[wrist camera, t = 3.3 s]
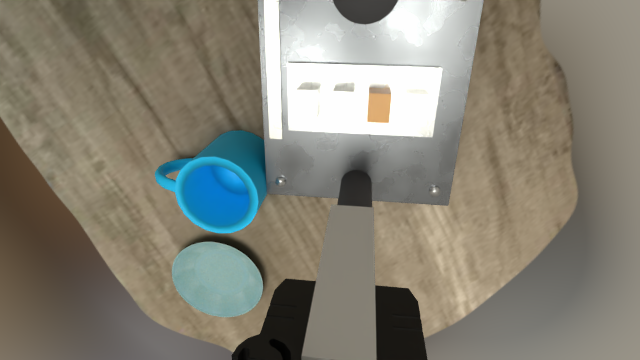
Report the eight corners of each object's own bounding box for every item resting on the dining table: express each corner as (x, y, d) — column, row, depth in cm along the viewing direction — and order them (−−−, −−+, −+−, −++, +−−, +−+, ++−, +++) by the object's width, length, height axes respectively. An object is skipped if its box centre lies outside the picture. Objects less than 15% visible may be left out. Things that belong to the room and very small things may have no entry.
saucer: (278, 252, 48) (274, 263, 46) (253, 317, 53) (248, 329, 51) (189, 219, 48) (181, 228, 46) (172, 287, 53) (164, 299, 51)
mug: (278, 133, 42) (258, 161, 34) (276, 200, 45) (258, 238, 38) (172, 122, 43) (130, 147, 35) (178, 188, 46) (141, 223, 39)
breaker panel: (270, -25, 36) (245, -33, 28) (472, -23, 34) (500, -31, 26) (277, 174, 44) (259, 207, 37) (439, 184, 42) (454, 221, 35)
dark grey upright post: (341, 169, 37) (323, 273, 23) (372, 170, 37) (375, 277, 22) (340, 196, 38) (322, 312, 24) (370, 198, 38) (371, 316, 24)
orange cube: (368, 87, 33) (368, 93, 31) (390, 88, 33) (391, 94, 31) (367, 114, 34) (367, 122, 32) (387, 115, 34) (389, 123, 32)
